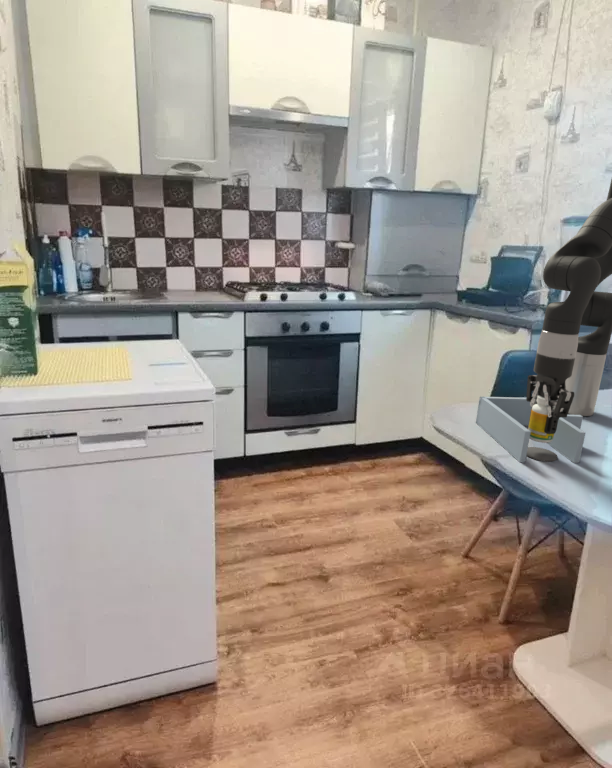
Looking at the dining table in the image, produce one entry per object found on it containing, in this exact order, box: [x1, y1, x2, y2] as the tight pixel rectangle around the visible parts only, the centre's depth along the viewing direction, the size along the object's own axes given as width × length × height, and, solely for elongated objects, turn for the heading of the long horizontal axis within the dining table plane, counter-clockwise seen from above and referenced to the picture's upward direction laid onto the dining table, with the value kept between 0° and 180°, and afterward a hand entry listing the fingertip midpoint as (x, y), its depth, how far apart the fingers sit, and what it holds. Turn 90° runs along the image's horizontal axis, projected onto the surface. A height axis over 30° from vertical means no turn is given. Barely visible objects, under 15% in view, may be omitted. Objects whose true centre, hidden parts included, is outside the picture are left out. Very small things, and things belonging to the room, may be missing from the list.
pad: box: [526, 446, 558, 463], centre depth 119 cm, size 7×7×1 cm
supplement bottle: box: [527, 395, 557, 444], centre depth 118 cm, size 5×5×10 cm
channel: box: [475, 396, 586, 464], centre depth 126 cm, size 24×19×7 cm
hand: (541, 427), depth 118 cm, fingers closed on supplement bottle, 5 cm apart
